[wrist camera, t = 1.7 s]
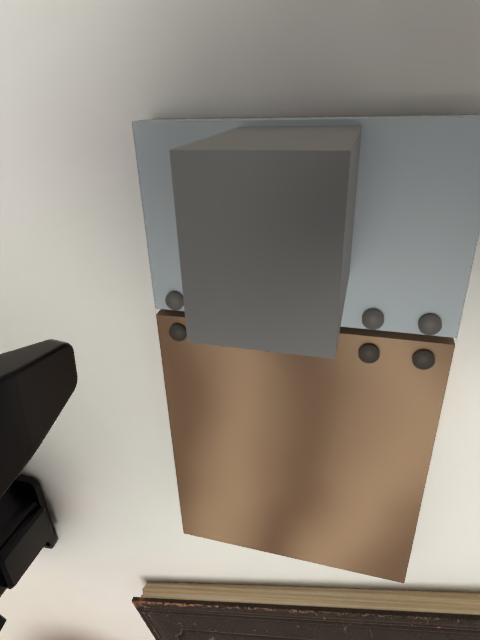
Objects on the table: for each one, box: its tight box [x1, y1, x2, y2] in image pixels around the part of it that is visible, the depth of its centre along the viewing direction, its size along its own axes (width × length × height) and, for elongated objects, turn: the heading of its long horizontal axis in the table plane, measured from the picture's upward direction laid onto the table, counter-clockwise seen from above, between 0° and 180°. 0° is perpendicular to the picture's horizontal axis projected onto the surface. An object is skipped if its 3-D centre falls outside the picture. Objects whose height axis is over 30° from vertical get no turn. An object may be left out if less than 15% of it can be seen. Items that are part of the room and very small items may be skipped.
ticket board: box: [156, 309, 455, 583], centre depth 22 cm, size 12×14×2 cm
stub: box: [132, 115, 480, 359], centre depth 14 cm, size 12×7×7 cm, turn 92°
